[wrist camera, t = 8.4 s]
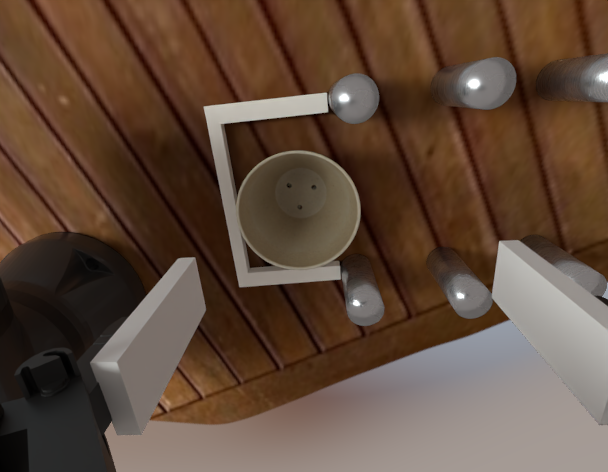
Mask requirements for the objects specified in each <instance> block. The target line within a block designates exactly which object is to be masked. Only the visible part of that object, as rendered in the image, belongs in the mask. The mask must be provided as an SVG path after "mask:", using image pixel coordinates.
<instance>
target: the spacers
mask: <svg viewBox="0 0 608 472" xmlns="http://www.w3.org/2000/svg"><path fill="white" fill-rule="evenodd" d="M515 85H516V72H515V69H514V67H513V66H512V64H511V63H510V62H509V61H507V60H505V59H503V58H498V57H494V58H488V59H483V60H478V61H473V62H468V63H463V64H458V65H453V66H448V67H445V68H443V69H441V70H440V71H438V72H437V73H436V75H435V76H434V78H433V80H432V83H431V95H432V97H433V99H434V100H435V101H436V102H437V103H438V104H441V105H444V106H454V107H464V108H474V109H484V110H490V109H494V108H497V107H499V106H501V105H502V104H504V103H505V102H506V101H507V100H508V99H509V98H510V96H511V95H512V93H513V91H514V89H515ZM536 89H537V92H538V94H539V95H540V96H541V97H542V98H543V99H545V100H554V101H584V102H608V53H607V54H600V55H592V56H585V57H577V58H570V59H562V60H556V61H553V62H551V63H549V64H547V65H546V66H545V67H544V68H543V69H542V70H541V72H540V73H539V75H538V78H537V81H536ZM328 103H329V106H330V108H331V109H332V111H333V112H334V113H335V114H336V115H337V116H338V117H339V118H340V119H341V120H343V121H345V122H347V123H351V124H358V123H362V122H364V121H366V120H368V119H369V118H370V117H371V116H372V115H373V114H374V113H375V111H376V109H377V107H378V103H379V92H378V88H377V86H376V84H375V83H374V81H373V80H372V79H371V78H369V77H368V76H366V75H363V74H350V75H348V76H346V77H344V78H342V79H340V80H338V81H336V82H335V83H334V84H333V85H332V87H331V88H330V90H329V94H328ZM520 242H522V243H523V244H524V245H526V246H527V247H528V248H530V249H531V250H532V251H534V252H535V253H536V254H538V255H539V256H540V257H542V258H543V259H545V260H546V261H547V262H549V263H550V264H551V265H553V266H554V267H555V268H557V269H558V270H559V271H561V272H562V273H563V274H565V275H566V276H568V277H569V278H570V279H572V280H573V281H574V282H576V283H577V284H578V285H580V286H581V287H582V288H584V289H585V290H586V291H588V292H589V293H591V294H592V295H593V296H601V297H602V296H603V294H604V292H605V291H606V288H607V281H606V279H605V277H604V276H603V275H602V274H600V273H598V272H597V271H595V270H594V269H592V268H591V267H589V266H587V265H586V264H584V263H583V262H581V261H580V260H578V259H576V258H575V257H573V256H572V255H570V254H569V253H567V252H565V251H564V250H562V249H561V248H559V247H558V246H556V245H554V244H553V243H551V242H550V241H548V240H546V239H545V238H543V237H542V236H539V235H530V236H527V237H525V238H523V239H522V240H521V241H520ZM426 265H427V268H428V269H429V271H430V272H431V274H432V275H433V277H434V279H435V280H436V282H437V283H438V285H439V286H440V288H441V290H442V291H443V293H444V294H445V296H446V297H447V299H448V300H449V302H450V304H451V305H452V307H453V308H454V310H455V311H456V313H457V314H458V315H460V316H461V317H464V318H469V319H471V318H477V317H480V316H482V315H484V314H485V313H486V312H487V311H488V310H489V309H490V308H491V306H492V302H493V298H492V294H491V293H490V291H489V290H488V289H487V288H486V287H485V285H484V284H483V283H482V282H481V281H480V280H479V279H478V278H477V276H476V275H475V274H474V273H473V272H472V271H471V270H470V268H469V267H468V266H467V265H466V264H465V263H464V262H463V260H462V259H461V258H460V257H459V256H458V255H457V254H456V252H455V251H454V250H452V249H451V248H448V247H439V248H436V249H434V250H433V251H432V252H431V253H430V254H429V255H428V257H427V260H426ZM341 274H342V281H343V288H344V295H345V302H346V309H347V315H348V317H349V319H350V320H351V321H352V322H353V323H355V324H357V325H361V326H369V325H372V324H375V323H376V322H378V321H379V320H380V319H381V318H382V316H383V314H384V304H383V301H382V298H381V295H380V292H379V289H378V286H377V283H376V280H375V277H374V273H373V270H372V267H371V264H370V262H369V260H368V259H367V258H366V257H365V256H363V255H360V254H353V255H350V256H348V257H346V258H345V259H344V260H343V262H342V264H341Z"/></svg>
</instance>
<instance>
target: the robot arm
mask: <svg viewBox="0 0 608 472" xmlns="http://www.w3.org/2000/svg"><path fill="white" fill-rule="evenodd" d="M492 298H493V300H494V301H495V302H496V303H497V304H498V306H499V307H500V308H501V309H502V310H503V312H504V313H505V314H506V315H507V316H508V317H509V319H510V320H511V321H512V322H513V323H514V325H515V326H516V327H517V328H518V329H519V331H520V332H521V333H522V334H523V335H524V336H525V338H526V339H527V340H528V341H529V342H530V343H531V345H532V346H533V347H534V348H535V349H536V351H537V352H538V353H539V354H540V355H541V357H542V358H543V359H544V360H545V361H546V362H547V364H548V365H549V366H550V367H551V368H552V370H553V371H554V372H555V373H556V374H557V376H558V377H559V378H560V379H561V380H562V381H563V383H564V384H565V385H566V386H567V387H568V389H569V390H570V391H571V392H572V393H573V395H574V396H575V397H576V398H577V399H578V400H579V401H580V403H581V404H582V405H583V406H584V407H585V409H586V410H587V411H588V412H589V413H590V415H591V416H592V417H593V418H594V419H595V421H596V422H597V423H598V424H599V425H608V299H606V298H603V297H601V296H593V295H592V294H591V293H589V292H588V291H586V290H585V289H584V288H582V287H581V286H580V285H578V284H577V283H576V282H574V281H573V280H572V279H570V278H569V277H568V276H566V275H565V274H563V273H562V272H561V271H559V270H558V269H557V268H555V267H554V266H553V265H551V264H550V263H549V262H547V261H546V260H545V259H543V258H542V257H540V256H539V255H538V254H536V253H535V252H534V251H532V250H531V249H530V248H528V247H527V246H526V245H524V244H523V243H522V242H520V241H519V240H509V241H499V247H498V255H497V262H496V269H495V276H494V283H493V291H492ZM205 311H206V306H205V301H204V297H203V292H202V287H201V282H200V278H199V273H198V268H197V263H196V258H195V257H191V258H178V259H177V261H176V262H175V263H174V264H173V265H172V266H171V268H170V269H169V270H168V271H167V272H166V273H165V275H164V276H163V277H162V278H161V279H160V281H159V282H158V283H157V284H156V285H155V286H154V288H153V289H152V290H151V291H150V292H149V294H148V295H147V296H146V295H145V291H144V288H143V285H142V283H141V281H140V279H139V277H138V275H137V274H136V272H135V271H134V269H133V268H132V267H131V265H130V264H129V263H128V262H127V261H126V260H125V259H124V258H123V257H122V256H121V255H120V254H118V253H117V252H116V251H115V250H113V249H112V248H110V247H109V246H107V245H105V244H104V243H102V242H100V241H98V240H95V239H93V238H90V237H87V236H84V235H80V234H76V233H68V232H55V233H48V234H44V235H40V236H38V237H35V238H33V239H32V240H30V241H28V242H26V243H24V244H22V245H20V246H18V247H17V248H15V249H14V250H12V251H11V252H10V253H9V254H8V255H7V256H6V257H5V258H4V259H3V260H2V261H1V263H0V472H116V469H115V466H114V462H113V459H112V455H111V452H110V449H109V445H108V442H107V439H106V437H105V434H104V432H105V431H106V429H107V428H108V426H109V424H110V423H111V421H112V423H113V426H114V428H115V431H116V433H117V435H142V433H143V431H144V429H145V427H146V425H147V423H148V421H149V419H150V418H151V416H152V414H153V412H154V410H155V408H156V406H157V404H158V402H159V400H160V398H161V396H162V394H163V392H164V390H165V389H166V387H167V385H168V383H169V381H170V379H171V377H172V375H173V373H174V371H175V369H176V367H177V365H178V363H179V361H180V360H181V358H182V356H183V354H184V352H185V350H186V348H187V346H188V344H189V342H190V340H191V338H192V336H193V334H194V333H195V331H196V329H197V327H198V325H199V323H200V321H201V319H202V317H203V315H204V313H205Z"/></svg>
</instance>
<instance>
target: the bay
mask: <svg viewBox="0 0 608 472" xmlns="http://www.w3.org/2000/svg"><path fill="white" fill-rule="evenodd" d="M204 111H205V116H206V121H207V126H208V131H209V136H210V141H211V146H212V151H213V156H214V161H215V167H216V172H217V177H218V182H219V187H220V192H221V197H222V202H223V207H224V212H225V217H226V222H227V227H228V232H229V237H230V243H231V248H232V253H233V258H234V263H235V268H236V273H237V278H238V283H239V287H251V286H263V285H276V284H289V283H302V282H314V281H327V280H340V279H341V274H340V263H339V261H331V262H329V263H328V264H326V265H323V266H321V267H318V268H314V269H309V270H290V269H284V268H281V267H277V266H268V267H255V268H250V265H249V260H248V254H247V249H246V243H245V240H244V238H243V236H242V234H241V232H240V229H239V226H238V223H237V217H236V203H237V193H236V188H235V182H234V177H233V171H232V166H231V160H230V155H229V149H228V144H227V138H226V133H225V127H224V124H226V123H235V122H244V121H253V120H262V119H271V118H281V117H290V116H299V115H308V114H317V113H326V112H328V102H327V93H319V94H310V95H301V96H292V97H283V98H274V99H265V100H257V101H248V102H239V103H230V104H221V105H212V106H204Z"/></svg>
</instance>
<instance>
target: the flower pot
mask: <svg viewBox="0 0 608 472" xmlns="http://www.w3.org/2000/svg"><path fill="white" fill-rule="evenodd" d="M313 185H315V186H314V187H312V186H313ZM287 186H290V188H289V187H287ZM300 206H302V209H301V208H300ZM360 216H361V207H360V199H359V195H358V192H357V189H356V187H355V185H354V183H353V181H352V180H351V178H350V177H349V175H348V174H347V173H346V172H345V170H344V169H343V168H342V167H340V166H339V165H338V164H337V163H335V162H334V161H333V160H331V159H329V158H327V157H325V156H323V155H321V154H318V153H315V152H310V151H303V150H293V151H286V152H282V153H278V154H275V155H273V156H271V157H269V158H267V159H265V160H263V161H262V162H260V163H259V164H258V165H257V166H255V167H254V168H253V169H252V170H251V171H250V173H249V174H248V175H247V176H246V178H245V180H244V181H243V183H242V185H241V187H240V190H239V193H238V197H237V203H236V217H237V223H238V226H239V229H240V232H241V234H242V236H243V238H244V240H245V241H246V243H247V244H248V246H249V247H250V248H251V249H252V250H253V251H254V252H255V253H256V254H257V255H258V256H259V257H261V258H262V259H263V260H265V261H267V262H269V263H270V264H272V265H275V266H277V267H281V268H284V269H290V270H309V269H314V268H318V267H321V266H323V265H326V264H328V263H329V262H331V261H333V260H334V259H336V258H337V257H339V256H340V255H341V254H342V253H343V252H344V251H345V250H346V249H347V248H348V246H349V245H350V244H351V242H352V241H353V239H354V237H355V235H356V233H357V230H358V227H359V223H360Z"/></svg>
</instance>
